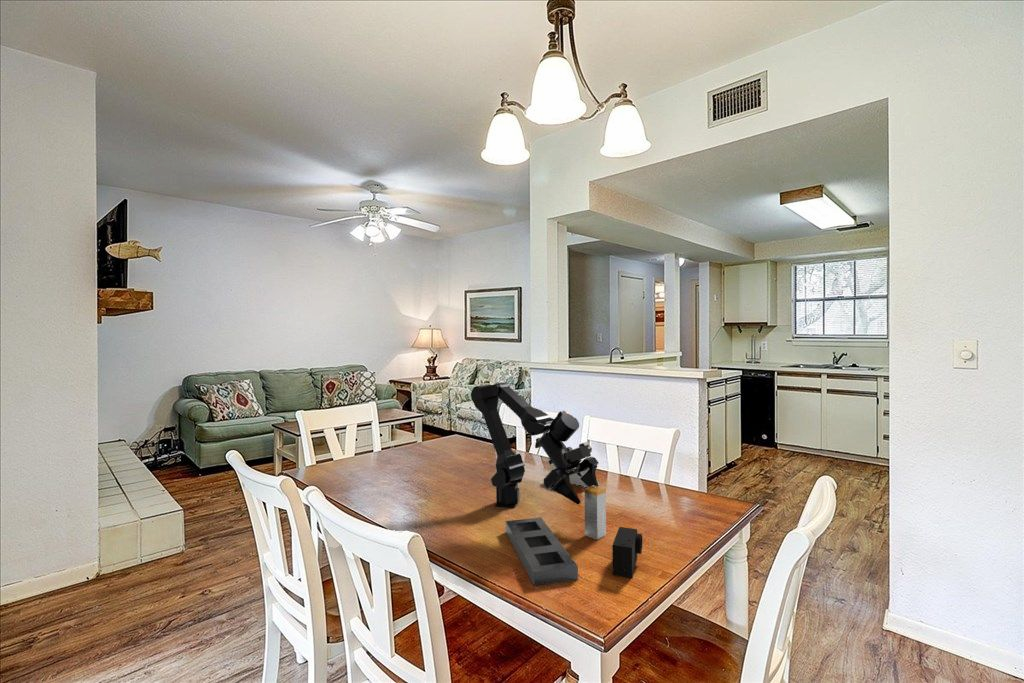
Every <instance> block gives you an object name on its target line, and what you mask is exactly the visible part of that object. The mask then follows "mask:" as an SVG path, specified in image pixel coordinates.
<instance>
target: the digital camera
mask: <svg viewBox="0 0 1024 683" xmlns="http://www.w3.org/2000/svg"><path fill="white" fill-rule="evenodd" d="M611 546H612V548H611V549H612V550H611V551H612V576H616V577H622V578H626V579H633V576H634V573H635V568H636V564H637V561H638V554H639V555H642V554H643V534H642V533H638V529H637V528H632V527H623V526H619V527H618V529H617V532H616V535H615V538H614V540H613V542H612V545H611Z"/></svg>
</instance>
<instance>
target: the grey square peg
mask: <svg viewBox="0 0 1024 683" xmlns="http://www.w3.org/2000/svg"><path fill="white" fill-rule="evenodd" d="M583 491H584V492H583V493H584V499H583V500H584V536H585V537H589V538H591V539H594V540H596V541H598V540H600V539H603V538H604V537H605V536H607V506H606V505H607V500H606V498H607V493H606V487H601V486H599V487H598V486H595V485H592V486H590V487H587V488H586V487H584V490H583Z"/></svg>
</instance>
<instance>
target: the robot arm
mask: <svg viewBox="0 0 1024 683" xmlns="http://www.w3.org/2000/svg"><path fill="white" fill-rule="evenodd" d="M470 399H471V400H472V403H473V405H474V407H475V408H476V410H478V411H479V412H480V413H481V414H482V415H483V419H484V421H485V424H486V426H487V430H488V433H489V436H490V439H491V442H492V445H493V447H494V450H495V453H496V461H495V469H496V470H495V471H496V472H495V474H494V475H493V476H492V477H491V478H490V481H491V485H492V486H493V487H495V489H496V490H495V491H496V492H495V493H496V494H495V496H496V498H495V499H496V502H495V503H494V506H495V507H502V508H503V507H505V508H516V506H517V505H518V504H519V502H520V499H521V498H520V488H519V487H518V486H519V484H521V483H522V481H523V477H524V475H525V472H526V469H525V466H526V464H525V463H524V461H523V458H522V455H521V453H516V452H515V451H513V449H512V446H511V443H510V440H509V438H508V435H507V432H506V429H505V427H504V424H503V422H502V419H501V416H500V412H499V410H498V405H499V400H500V401H501V402H502V403H504V404H505V405H506V407H508V409H510V410H511V411H512V413H513V414H515V415H516V416H517V417H518V418H519V420H520V422H521V423H520V424H521V426H522V427H523V429H524V430H525V431H526V432H527V434H529V435H530V436H532V437H533V436H534V437H535V436H539V435H541V437H537V438H535V444H534V448H535V449H539V448H542V450H543V452H545V453H546V455H547V457H548V458H549V460H548V463H549V466H550V465H552V464H554V466H555V467H556V469H554V470H552V469H551V470H550V472H548V474H547V475H546V476H544V478H543V479H542V480H543V485H544V487H545V489H546V490H547V491H548V490H551V492H555V493H557V494H559V495H561V496H563V497H565V498H567V499H568V500H570V501H571V502H572V503H574V504H576V505H580V504H581V500H580V497H579V495H578V494H577V493H576V491H575V489H574V488H573V486H572V484H570V477H569V476H572V475H574V474H577V475H579V476H580V477H581V478H580V479H581V480H582V481H583V482H584V483H585V484H586V485H587V486H588V487H590V486H592V485H595V486H598V487H600V486H599V485H600V484H599V481H598V482H597V480H598V479H597V476H596V470H597V468H598V465H599V461H598V460H597V458H596V457H594V456H592V454H591V453H592V451H593V448H592V446H591V445H590V444H589V443H588V442H587V441H585V442H582V443H580V444H578V447H576V448H572V447H571V446H568V447H567V446H566V445H565V443H564V442H567V441H569V439H570V438H571V437H572V436H573V435H574V434H575V433H576V432H577V431H578V429H579V428H580V422H579V420H578V419H577V417H575V416H573V415H572V414H569V413H568V412H566V411H565V410H561V411H558V413H557V415H556V417H554V418H553V417H551V416H550V415H549V414H548V413H547V412H545V411H543V410H541V409H539V408H536V407H533V406H531V405H530V404H529V403H528V402H527V401H526V400H525V399H524V398H522V397H521V396H520V394H518V393H517V392H516V391H515V390H514V389H513V388H512V387H510V384H509V383H508V382H498V383H497V382H496V383H494V384H485V385H484V384H483V385H477V386H473V388H472V390H471V392H470ZM581 461H582V462H581ZM580 462H581V463H580ZM578 463H580V464H579V465H578ZM573 470H574V471H573ZM598 484H599V485H598Z"/></svg>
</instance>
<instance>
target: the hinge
mask: <svg viewBox="0 0 1024 683" xmlns="http://www.w3.org/2000/svg"><path fill="white" fill-rule="evenodd" d="M582 461H583V460H582ZM582 461H581V462H582ZM581 462H580V463H581ZM580 463H578V465H579V464H580ZM550 469H551V471H552V470H554V469H556V467H555V466H554V464H551V467H550ZM573 471H574V470H573ZM569 477H570V483H572V484H571V485H573V484H576V485H575V486H578V485H581V486H580V487H582V486H585V487H584V488H586V487H588V486H587V485H586V484H585V483H584V482H583V481H582V480H581V479H580V478H581V477H580V476H579V475H577V474H574V475H572V476H569ZM597 482H598V483H599V481H598V479H597Z"/></svg>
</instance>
